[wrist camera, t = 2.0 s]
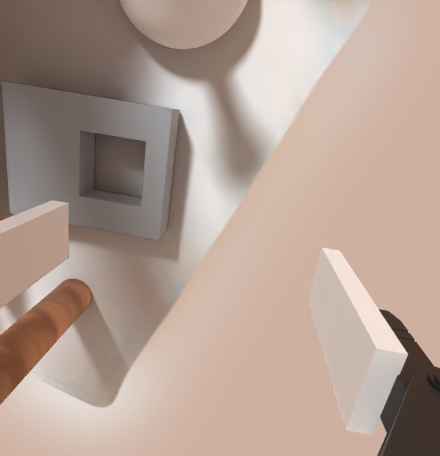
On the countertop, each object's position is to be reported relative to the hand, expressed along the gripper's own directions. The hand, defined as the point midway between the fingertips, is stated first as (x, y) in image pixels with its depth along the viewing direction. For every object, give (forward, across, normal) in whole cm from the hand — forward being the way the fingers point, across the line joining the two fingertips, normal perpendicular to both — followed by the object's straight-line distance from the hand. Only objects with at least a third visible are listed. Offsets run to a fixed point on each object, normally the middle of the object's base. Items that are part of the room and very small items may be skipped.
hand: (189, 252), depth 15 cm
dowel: (+18, -15, -16) cm, 29 cm away
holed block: (+18, -13, 0) cm, 22 cm away
